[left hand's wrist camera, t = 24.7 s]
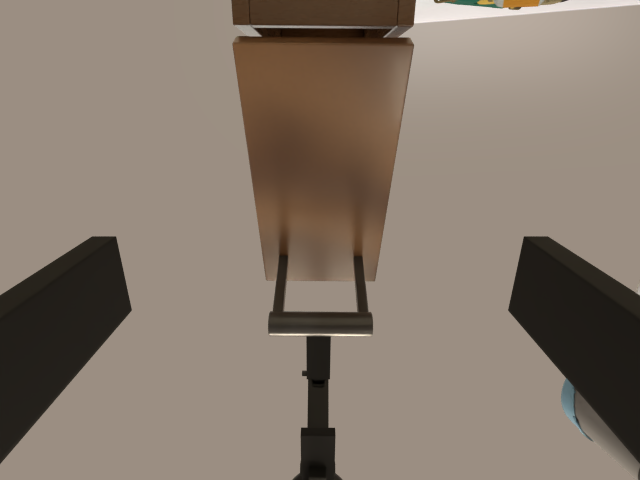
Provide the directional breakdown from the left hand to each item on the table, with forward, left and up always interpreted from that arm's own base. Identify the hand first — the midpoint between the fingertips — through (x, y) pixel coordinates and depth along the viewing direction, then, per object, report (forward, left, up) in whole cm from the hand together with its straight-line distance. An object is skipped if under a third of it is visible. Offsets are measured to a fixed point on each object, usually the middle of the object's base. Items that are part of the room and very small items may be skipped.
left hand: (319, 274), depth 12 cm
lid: (+13, -8, 0) cm, 15 cm away
